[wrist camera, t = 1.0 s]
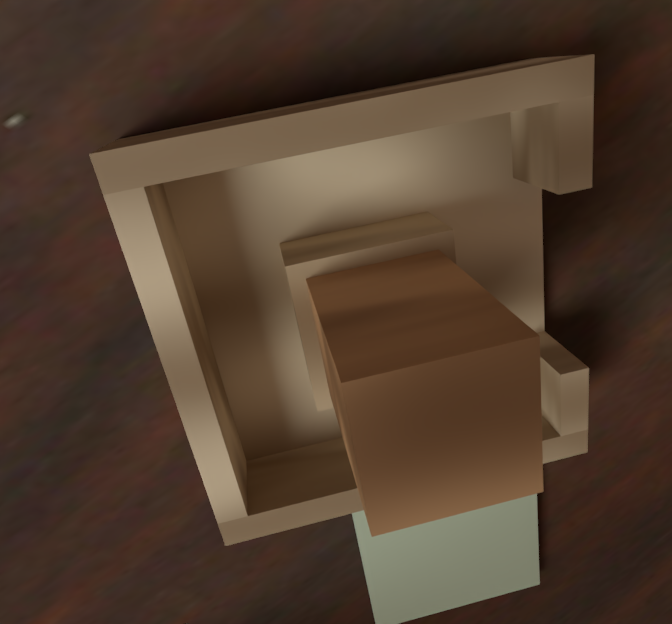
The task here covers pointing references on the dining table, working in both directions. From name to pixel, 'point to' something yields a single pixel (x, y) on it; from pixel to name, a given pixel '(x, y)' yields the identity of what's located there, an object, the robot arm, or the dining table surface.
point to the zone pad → (450, 560)
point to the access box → (337, 257)
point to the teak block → (429, 389)
